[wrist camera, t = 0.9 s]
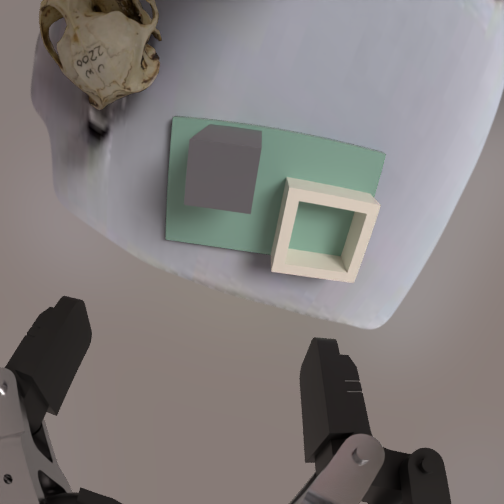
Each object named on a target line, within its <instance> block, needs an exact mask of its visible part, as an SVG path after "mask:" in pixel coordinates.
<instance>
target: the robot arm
mask: <svg viewBox="0 0 504 504" xmlns="http://www.w3.org/2000/svg"><path fill="white" fill-rule="evenodd" d="M91 337H92V332H91V327H90V323H89V319H88V315H87V311H86V307H85V303H84V301H83V300H80V299H76V298H71V297H67V296H63V297H62V298H61V299H60V300H59V301H58V303H57V304H56V306H55V307H54V308H53V307H49V308H48V309H47V310H46V311H44V312H43V313H41V314H40V315H39V316H38V318H37V319H36V321H35V322H34V324H33V325H32V327H31V328H30V329H29V331H28V332H27V336H25V337H24V338H23V340H22V341H21V343H20V345H19V346H18V348H17V349H16V351H15V352H14V354H13V356H12V357H11V359H10V361H9V362H8V364H7V365H6V367H5V368H0V504H122V503H120V502H118V501H116V500H115V499H113V498H110V497H106V496H103V495H100V494H97V493H94V492H92V491H89V490H86V489H83V488H80V491H79V493H73V492H72V490H71V488H70V485H69V483H68V481H67V479H66V477H65V476H64V474H63V472H62V471H61V469H60V467H59V465H58V463H57V460H56V457H55V454H54V451H53V448H52V444H51V441H50V438H49V434H48V430H47V427H46V423H45V420H44V416H45V414H46V412H48V413H51V414H53V415H56V416H57V414H58V412H59V409H60V407H61V405H62V403H63V400H64V398H65V396H66V394H67V391H68V389H69V387H70V385H71V383H72V381H73V379H74V376H75V374H76V372H77V370H78V368H79V366H80V364H81V362H82V360H83V358H84V356H85V354H86V352H87V350H88V348H89V345H90V343H91ZM300 391H301V404H302V419H303V435H304V450H305V462H306V463H309V462H311V463H312V462H313V463H314V462H315V468H316V472H315V473H314V474H313V475H312V476H311V478H310V479H309V480H308V481H307V483H306V484H305V485H304V486H303V488H302V489H301V490H300V491H299V492H298V494H297V495H296V496H295V497H294V498H293V499H292V501H291V502H290V503H289V504H359V503H360V502H361V501H363V502H367V503H368V504H451V499H450V494H449V488H448V482H447V476H446V471H445V466H444V462H443V460H442V457H441V456H440V455H439V454H438V453H437V452H436V451H435V450H433V449H430V448H420V449H418V450H416V451H415V452H413V453H412V454H407V453H402V452H397V451H392V450H389V449H386V448H384V447H382V445H381V443H380V442H379V441H378V440H377V439H376V438H374V437H373V436H372V434H371V431H370V426H369V421H368V416H367V411H366V407H365V402H364V397H363V393H362V388H361V384H360V383H359V375H358V371H357V367H356V366H355V364H354V363H353V361H352V360H351V358H350V357H349V356H348V355H340V353H339V348H338V344H337V341H336V340H335V339H327V338H313V339H312V341H311V344H310V346H309V349H308V351H307V354H306V356H305V359H304V361H303V363H302V366H301V371H300Z"/></svg>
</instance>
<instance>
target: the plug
mask: <svg viewBox="0 0 504 504" xmlns="http://www.w3.org/2000/svg"><path fill="white" fill-rule="evenodd" d="M261 149H262V131H260V130H253V129H246V128H239V127H232V126H224V125H215V124H209V125H208V126H206V127H205V128H204V129H202V130H201V131H200V132H198V133H197V134H196V135H194V136H193V137H192V138H190V140H189V150H188V161H187V172H186V184H185V197H184V205H188V206H196V207H203V208H210V209H217V210H224V211H231V212H238V213H245V214H251V210H252V204H253V197H254V191H255V185H256V179H257V173H258V167H259V161H260V155H261Z"/></svg>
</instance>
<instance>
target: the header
mask: <svg viewBox="0 0 504 504" xmlns="http://www.w3.org/2000/svg"><path fill="white" fill-rule="evenodd" d="M299 201H302V202H307V203H313V204H319V205H324V206H329V207H335V208H340V209H345V210H350V211H355V212H354V216H353V219H352V222H351V226H350V229H349V232H348V235H347V239H346V242H345V245H344V248H343V251H342V254H341V256H335V255H328V254H322V253H315V252H309V251H302V250H296V249H289V248H288V247H289V243H290V239H291V234H292V230H293V226H294V221H295V217H296V212H297V208H298V204H299ZM380 206H381V205H380V204H379V203H378V202H377V201H376V200H375V198H374V197H373V196H372V195H371V194H370V193H366V192H361V191H356V190H352V189H347V188H342V187H337V186H333V185H328V184H322V183H317V182H312V181H307V180H301V179H296V178H290V177H286V182H285V187H284V192H283V197H282V202H281V207H280V212H279V217H278V222H277V227H276V232H275V237H274V241H273V246H272V251H271V272H277V273H284V274H292V275H299V276H306V277H313V278H321V279H328V280H336V281H343V282H351V283H354V281H355V278H356V276H357V273H358V270H359V268H360V265H361V262H362V259H363V257H364V254H365V251H366V248H367V245H368V242H369V240H370V237H371V234H372V231H373V228H374V225H375V222H376V218H377V215H378V212H379V209H380Z"/></svg>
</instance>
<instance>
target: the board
mask: <svg viewBox="0 0 504 504" xmlns="http://www.w3.org/2000/svg"><path fill="white" fill-rule="evenodd" d="M209 124H215V125H224V126H232V127H239V128H246V129H253V130H260V131H262V149H261V155H260V161H259V167H258V173H257V179H256V185H255V191H254V197H253V204H252V210H251V214H245V213H238V212H231V211H224V210H217V209H210V208H203V207H196V206H188V205H184V197H185V184H186V172H187V161H188V150H189V140H190V138H192V137H193V136H194V135H196V134H197V133H198V132H200V131H201V130H202V129H204V128H205V127H206V126H208V125H209ZM385 156H386V154H385V153H383V152H380V151H377V150H373V149H369V148H365V147H361V146H358V145H354V144H349V143H345V142H341V141H337V140H332V139H328V138H323V137H319V136H314V135H309V134H304V133H299V132H294V131H288V130H283V129H277V128H271V127H265V126H258V125H252V124H245V123H238V122H230V121H222V120H213V119H204V118H194V117H183V116H175V117H173V122H172V133H171V144H170V157H169V171H168V188H167V209H166V240H173V241H180V242H186V243H193V244H200V245H207V246H214V247H220V248H227V249H234V250H241V251H248V252H255V253H261V254H268V255H271V251H272V246H273V241H274V237H275V232H276V227H277V222H278V217H279V212H280V207H281V202H282V197H283V192H284V187H285V182H286V177H290V178H296V179H301V180H307V181H312V182H317V183H322V184H328V185H333V186H337V187H342V188H347V189H352V190H356V191H361V192H366V193H370V194H371V195H372V196H373V197H374V196H375V192H376V189H377V185H378V182H379V178H380V175H381V171H382V167H383V164H384V160H385ZM354 212H355V211H350V210H345V209H340V208H335V207H329V206H324V205H319V204H313V203H307V202H302V201H299V204H298V208H297V212H296V217H295V221H294V226H293V230H292V234H291V239H290V243H289V247H288V248H289V249H296V250H302V251H309V252H315V253H322V254H328V255H335V256H341V254H342V251H343V248H344V245H345V242H346V239H347V235H348V232H349V229H350V226H351V222H352V219H353V216H354Z"/></svg>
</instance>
